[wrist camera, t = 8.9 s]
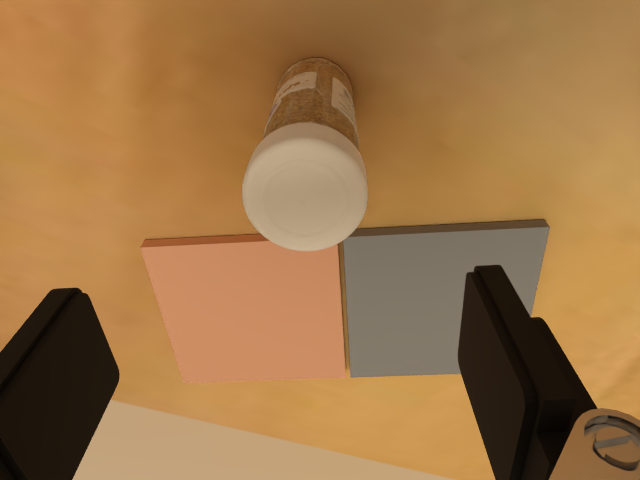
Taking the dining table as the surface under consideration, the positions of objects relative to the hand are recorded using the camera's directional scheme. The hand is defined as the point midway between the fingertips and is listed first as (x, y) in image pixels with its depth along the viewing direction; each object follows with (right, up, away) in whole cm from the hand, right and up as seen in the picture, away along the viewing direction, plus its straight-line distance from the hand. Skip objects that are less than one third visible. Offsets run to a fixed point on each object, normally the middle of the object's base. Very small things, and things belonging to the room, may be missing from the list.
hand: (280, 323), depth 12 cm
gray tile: (+10, -3, +24) cm, 26 cm away
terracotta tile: (-4, -3, +25) cm, 26 cm away
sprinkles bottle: (+1, +11, +16) cm, 20 cm away
